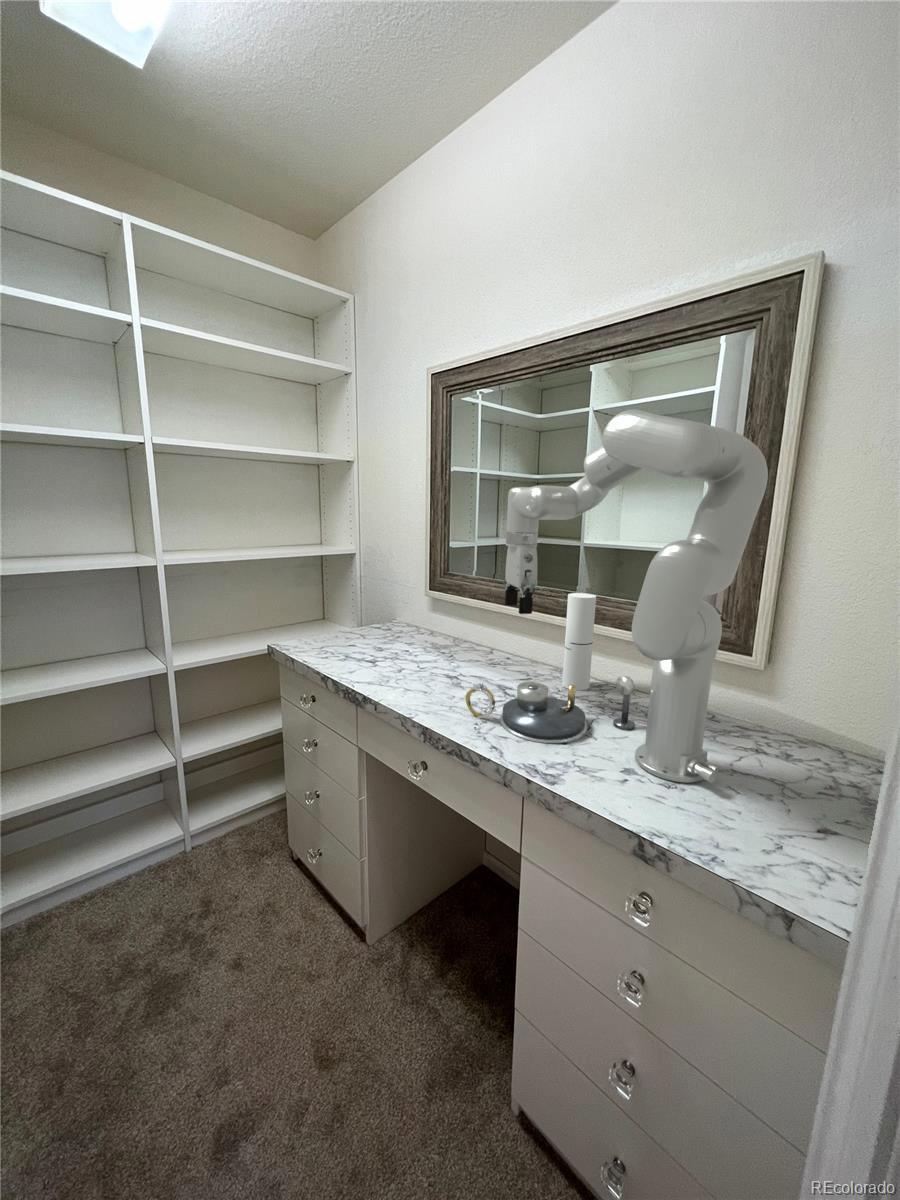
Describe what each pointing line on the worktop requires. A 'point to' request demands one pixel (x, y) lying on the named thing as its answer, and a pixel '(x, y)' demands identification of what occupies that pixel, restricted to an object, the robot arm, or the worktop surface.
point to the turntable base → (550, 741)
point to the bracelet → (484, 689)
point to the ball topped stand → (624, 703)
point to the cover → (532, 696)
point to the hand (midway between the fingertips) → (517, 609)
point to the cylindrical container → (579, 640)
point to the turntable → (546, 718)
